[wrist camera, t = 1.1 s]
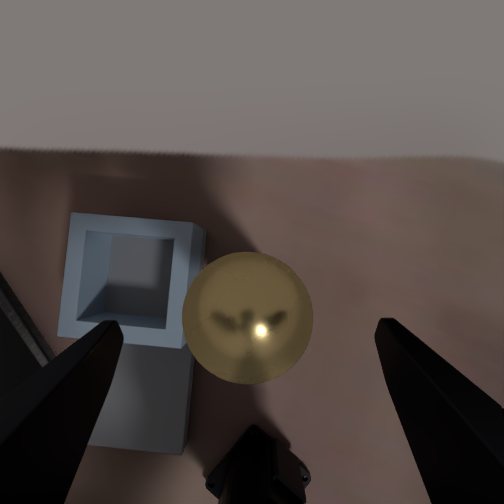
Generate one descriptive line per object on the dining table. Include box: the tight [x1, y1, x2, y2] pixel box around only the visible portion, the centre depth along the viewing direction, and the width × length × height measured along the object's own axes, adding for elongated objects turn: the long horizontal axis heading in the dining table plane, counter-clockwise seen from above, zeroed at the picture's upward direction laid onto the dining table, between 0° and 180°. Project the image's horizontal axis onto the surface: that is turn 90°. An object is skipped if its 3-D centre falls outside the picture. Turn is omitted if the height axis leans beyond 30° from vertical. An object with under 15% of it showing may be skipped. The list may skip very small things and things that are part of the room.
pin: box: [182, 252, 313, 384], centre depth 17 cm, size 5×5×13 cm
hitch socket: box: [57, 212, 207, 455], centre depth 22 cm, size 18×9×5 cm, turn 175°
